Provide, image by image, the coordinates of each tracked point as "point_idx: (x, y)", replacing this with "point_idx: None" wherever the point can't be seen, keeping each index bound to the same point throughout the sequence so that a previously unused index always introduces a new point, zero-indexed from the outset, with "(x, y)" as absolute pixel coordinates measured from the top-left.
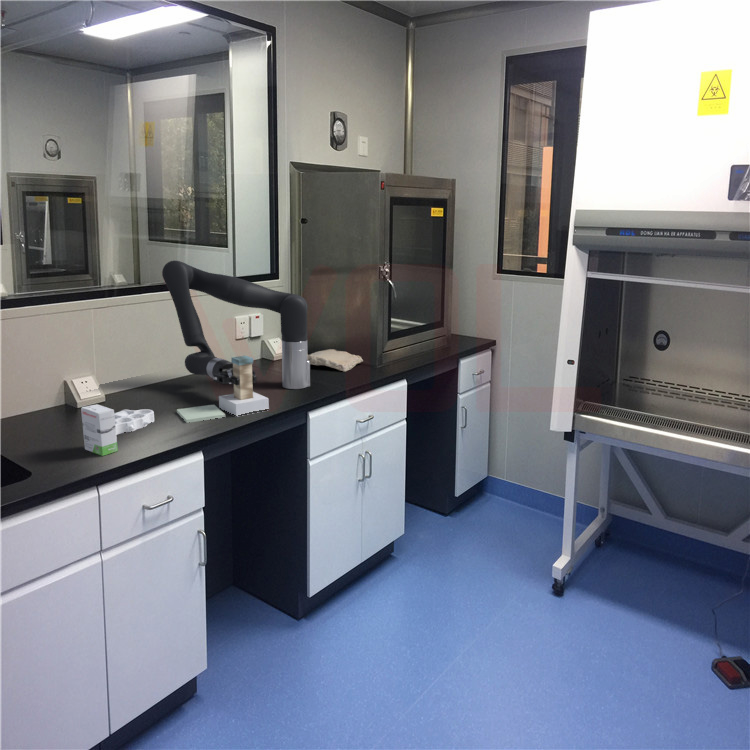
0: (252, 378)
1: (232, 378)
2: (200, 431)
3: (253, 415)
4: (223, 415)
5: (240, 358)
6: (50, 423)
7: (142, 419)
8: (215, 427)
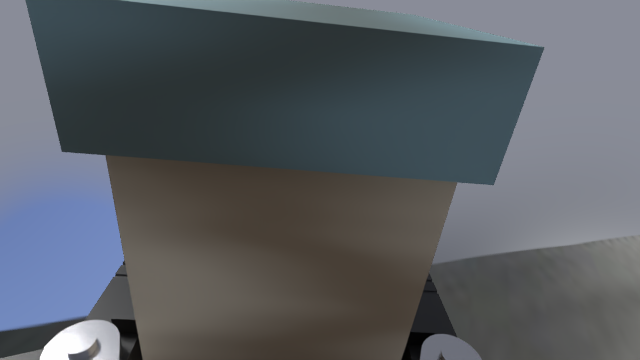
0: None
1: (428, 315)
2: (575, 295)
3: None
4: None
5: (351, 12)
6: None
7: None
8: (512, 299)
